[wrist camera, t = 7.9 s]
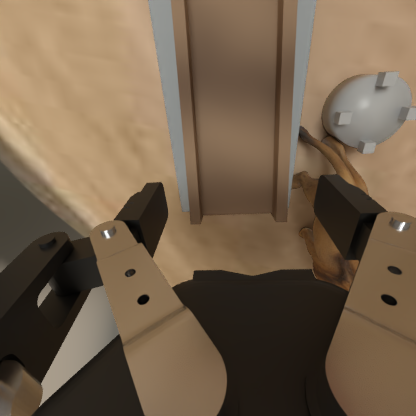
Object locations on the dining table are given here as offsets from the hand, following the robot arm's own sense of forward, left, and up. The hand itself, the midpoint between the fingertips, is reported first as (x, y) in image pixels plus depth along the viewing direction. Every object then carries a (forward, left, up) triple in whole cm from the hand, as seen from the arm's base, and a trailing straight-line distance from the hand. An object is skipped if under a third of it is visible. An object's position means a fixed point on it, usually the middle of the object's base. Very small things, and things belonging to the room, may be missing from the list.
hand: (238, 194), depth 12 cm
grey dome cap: (+3, -9, -8) cm, 12 cm away
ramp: (+4, 0, -6) cm, 7 cm away
